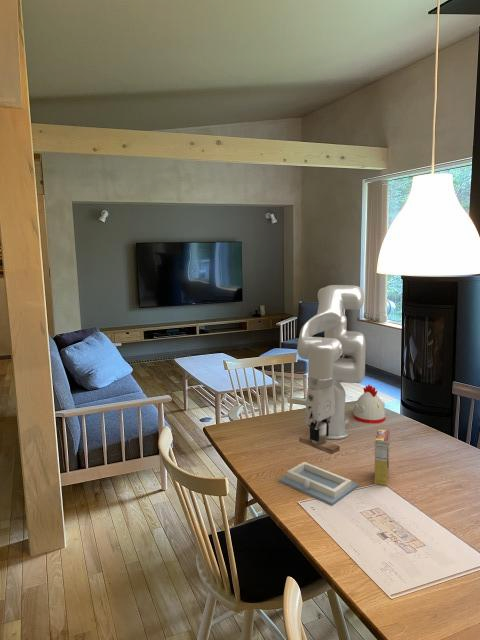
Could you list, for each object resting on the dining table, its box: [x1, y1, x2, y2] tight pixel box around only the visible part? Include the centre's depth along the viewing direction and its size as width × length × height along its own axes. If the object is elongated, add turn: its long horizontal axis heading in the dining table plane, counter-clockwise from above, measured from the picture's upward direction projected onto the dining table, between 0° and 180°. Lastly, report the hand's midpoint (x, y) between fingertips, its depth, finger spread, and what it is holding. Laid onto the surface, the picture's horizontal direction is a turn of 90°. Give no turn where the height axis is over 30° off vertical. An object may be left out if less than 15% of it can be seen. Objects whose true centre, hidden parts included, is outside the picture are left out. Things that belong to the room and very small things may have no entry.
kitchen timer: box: [352, 384, 386, 425], centre depth 202 cm, size 14×14×15 cm
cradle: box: [278, 461, 360, 506], centre depth 147 cm, size 15×20×3 cm
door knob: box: [298, 421, 341, 455], centre depth 144 cm, size 13×4×8 cm, turn 42°
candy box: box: [373, 429, 391, 487], centre depth 149 cm, size 9×4×15 cm, turn 158°
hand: (319, 437), depth 145 cm, fingers closed on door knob, 4 cm apart
